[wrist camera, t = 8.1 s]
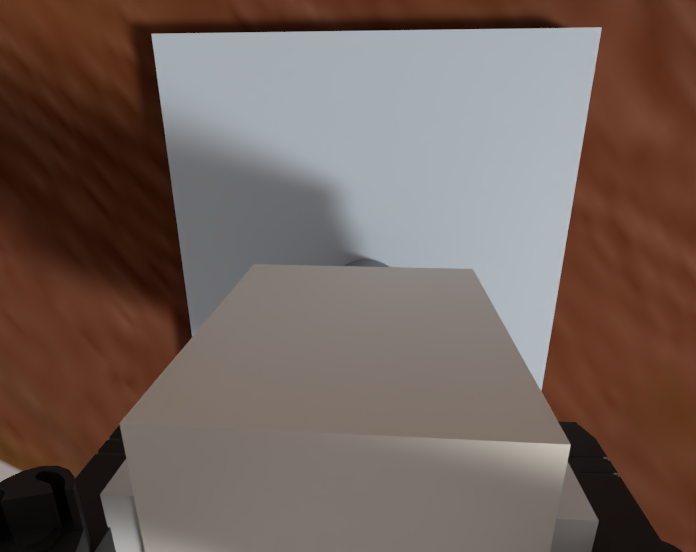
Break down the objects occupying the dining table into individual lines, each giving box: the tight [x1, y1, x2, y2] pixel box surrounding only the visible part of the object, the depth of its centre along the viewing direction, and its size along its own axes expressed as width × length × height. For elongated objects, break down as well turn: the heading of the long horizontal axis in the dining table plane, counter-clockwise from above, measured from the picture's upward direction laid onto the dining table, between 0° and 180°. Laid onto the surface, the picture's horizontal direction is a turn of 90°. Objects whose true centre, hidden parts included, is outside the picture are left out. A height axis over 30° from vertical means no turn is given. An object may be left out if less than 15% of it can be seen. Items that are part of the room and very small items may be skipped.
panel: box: [151, 27, 602, 390], centre depth 16 cm, size 18×14×6 cm
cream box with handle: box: [119, 264, 571, 552], centre depth 10 cm, size 6×6×7 cm
